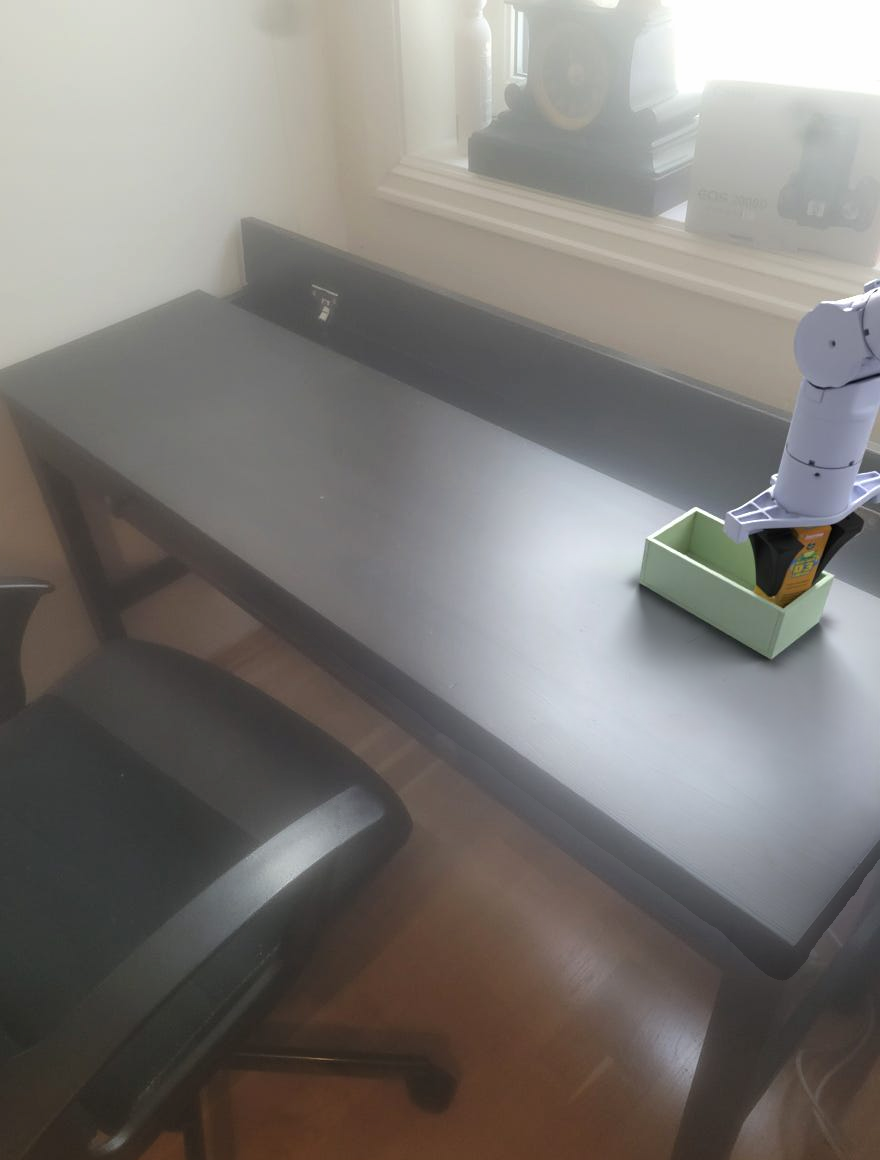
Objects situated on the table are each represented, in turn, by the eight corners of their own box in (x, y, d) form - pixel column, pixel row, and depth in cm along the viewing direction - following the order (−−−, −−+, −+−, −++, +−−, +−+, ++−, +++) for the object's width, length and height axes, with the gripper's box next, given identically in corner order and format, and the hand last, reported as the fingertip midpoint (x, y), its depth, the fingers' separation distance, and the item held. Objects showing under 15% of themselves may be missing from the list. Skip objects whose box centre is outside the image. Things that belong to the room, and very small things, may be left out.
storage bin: (819, 621, 83) (834, 575, 79) (771, 660, 80) (785, 613, 76) (686, 551, 92) (695, 506, 88) (638, 582, 89) (645, 538, 85)
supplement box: (771, 624, 80) (797, 533, 73) (750, 601, 82) (773, 511, 76) (804, 616, 80) (833, 525, 74) (782, 593, 83) (808, 503, 76)
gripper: (865, 407, 74) (823, 539, 84) (714, 446, 72) (688, 578, 81) (928, 447, 69) (877, 582, 79) (769, 491, 67) (734, 626, 76)
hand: (784, 584), depth 79 cm, fingers closed on supplement box, 3 cm apart
